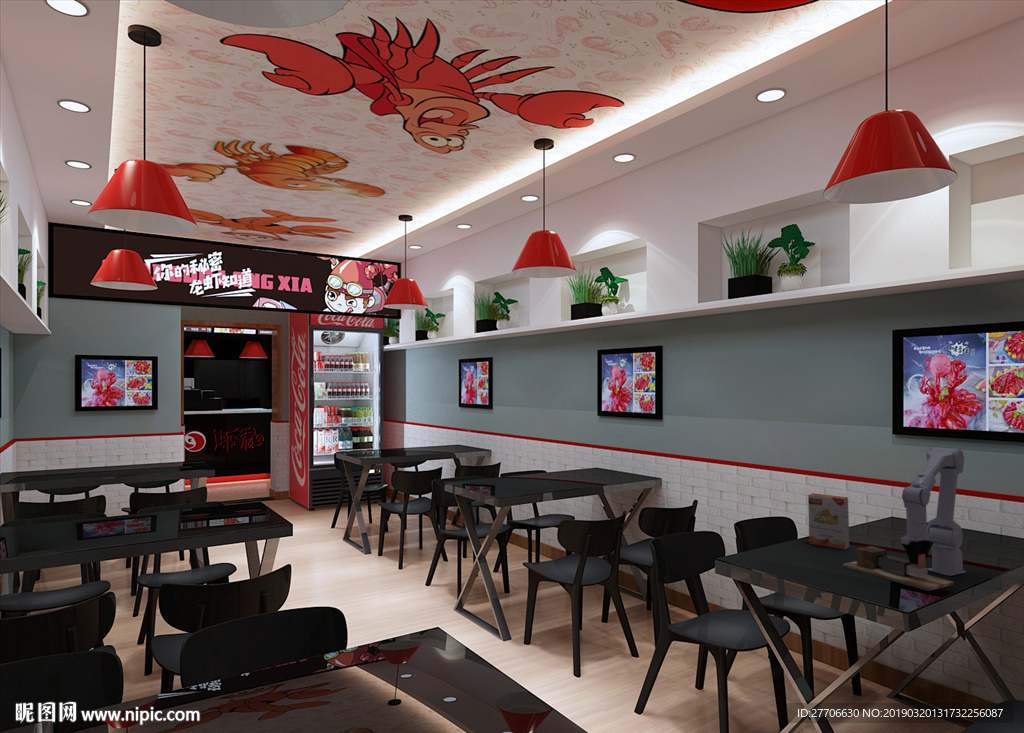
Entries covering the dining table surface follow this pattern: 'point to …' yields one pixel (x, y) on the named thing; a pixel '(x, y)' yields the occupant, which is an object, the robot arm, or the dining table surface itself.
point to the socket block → (869, 556)
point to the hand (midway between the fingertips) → (917, 563)
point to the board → (904, 578)
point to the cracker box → (828, 521)
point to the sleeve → (894, 565)
